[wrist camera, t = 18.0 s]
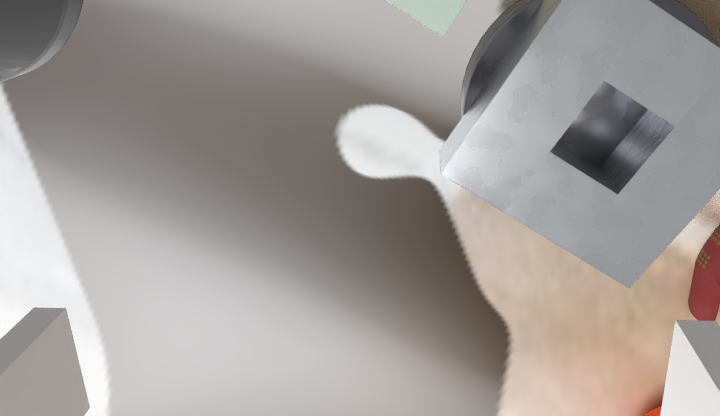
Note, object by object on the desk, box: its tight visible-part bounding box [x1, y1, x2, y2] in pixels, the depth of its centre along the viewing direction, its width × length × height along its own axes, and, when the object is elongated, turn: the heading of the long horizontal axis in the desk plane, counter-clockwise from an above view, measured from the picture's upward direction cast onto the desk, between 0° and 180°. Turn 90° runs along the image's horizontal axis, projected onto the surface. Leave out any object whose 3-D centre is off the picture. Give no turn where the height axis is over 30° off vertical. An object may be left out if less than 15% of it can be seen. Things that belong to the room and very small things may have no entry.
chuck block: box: [440, 0, 720, 288], centre depth 37 cm, size 14×14×8 cm
